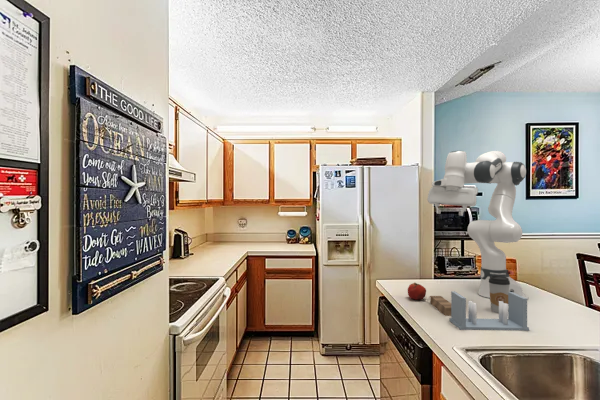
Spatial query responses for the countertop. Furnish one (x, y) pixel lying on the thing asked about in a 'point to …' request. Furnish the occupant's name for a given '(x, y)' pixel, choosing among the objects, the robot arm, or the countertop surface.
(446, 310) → the shelf board
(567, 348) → the countertop surface
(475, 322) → the shelf stand
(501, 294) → the coffee cup
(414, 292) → the tomato
